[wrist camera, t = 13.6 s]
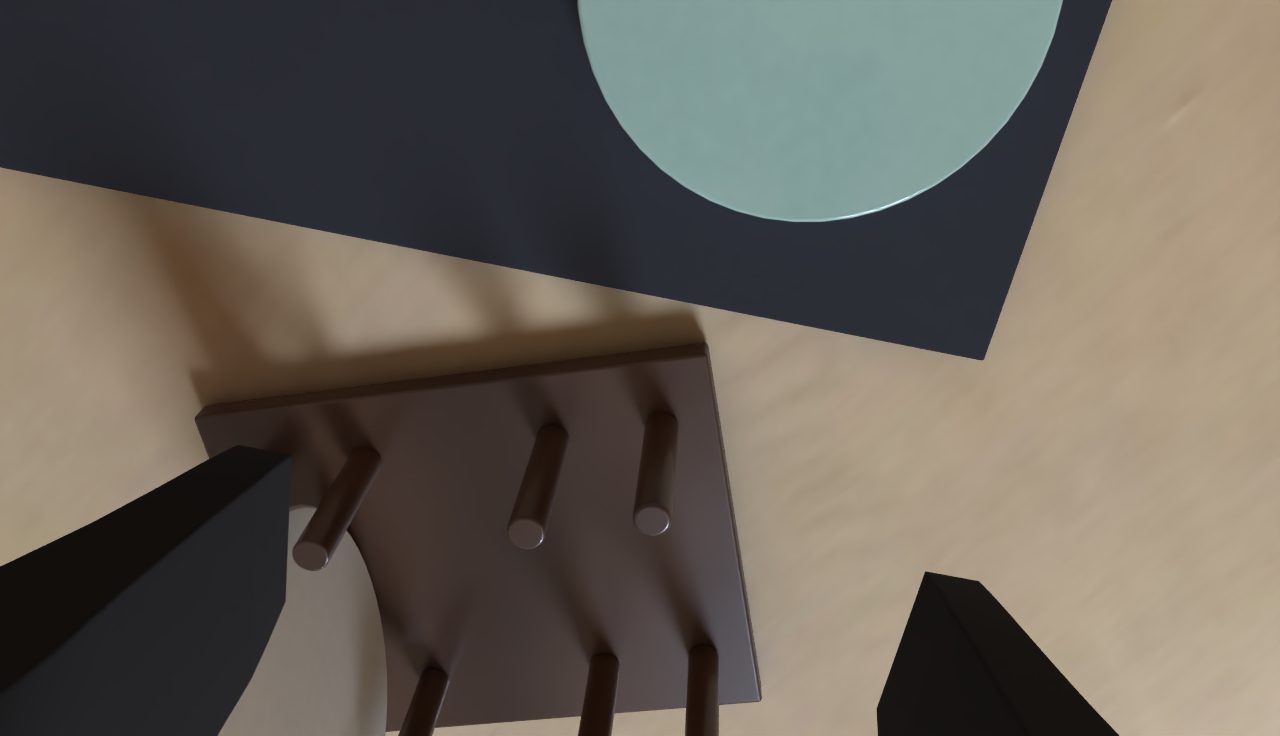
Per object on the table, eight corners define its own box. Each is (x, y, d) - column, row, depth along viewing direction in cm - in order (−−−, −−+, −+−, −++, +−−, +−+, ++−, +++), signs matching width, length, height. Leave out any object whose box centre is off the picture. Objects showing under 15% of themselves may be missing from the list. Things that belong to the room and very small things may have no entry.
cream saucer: (376, 705, 26) (260, 985, 20) (287, 444, 23) (115, 671, 17) (412, 702, 26) (307, 983, 20) (327, 439, 23) (171, 666, 17)
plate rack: (323, 721, 27) (260, 857, 24) (204, 404, 24) (108, 508, 20) (761, 685, 26) (767, 823, 22) (707, 341, 22) (704, 440, 18)
